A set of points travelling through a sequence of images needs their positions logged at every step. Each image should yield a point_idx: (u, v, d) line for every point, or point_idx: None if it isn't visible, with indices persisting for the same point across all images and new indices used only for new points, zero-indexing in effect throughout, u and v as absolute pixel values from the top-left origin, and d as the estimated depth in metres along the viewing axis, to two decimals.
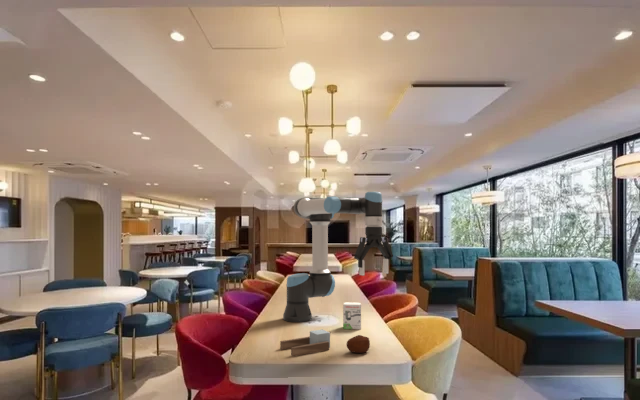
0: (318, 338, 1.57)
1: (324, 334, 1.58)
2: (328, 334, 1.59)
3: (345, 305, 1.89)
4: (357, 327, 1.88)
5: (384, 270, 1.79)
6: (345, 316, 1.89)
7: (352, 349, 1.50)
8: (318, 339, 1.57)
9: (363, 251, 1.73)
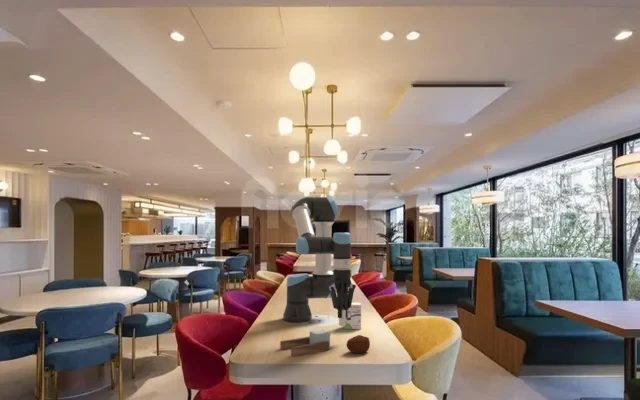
0: (318, 338, 1.57)
1: (324, 334, 1.58)
2: (328, 334, 1.59)
3: None
4: (357, 327, 1.88)
5: None
6: None
7: (352, 349, 1.50)
8: (318, 339, 1.57)
9: (338, 300, 1.66)
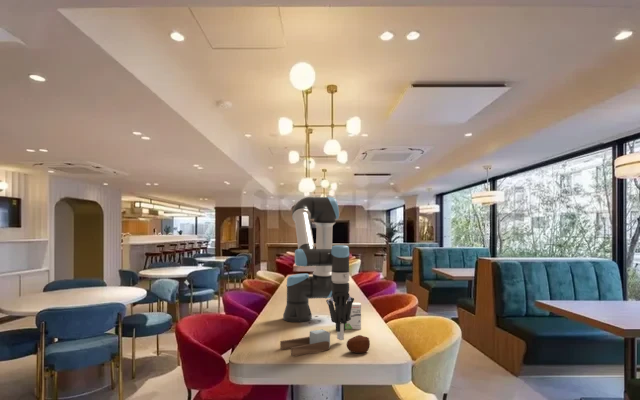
0: (318, 338, 1.57)
1: (324, 334, 1.58)
2: (328, 334, 1.59)
3: None
4: (357, 327, 1.88)
5: None
6: None
7: (352, 349, 1.50)
8: (318, 339, 1.57)
9: (336, 313, 1.65)
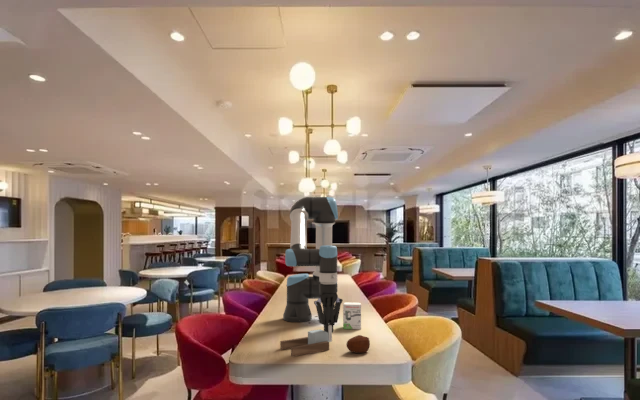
0: (317, 338, 1.56)
1: (322, 334, 1.58)
2: (326, 334, 1.59)
3: (345, 305, 1.89)
4: (357, 327, 1.88)
5: None
6: (345, 316, 1.89)
7: (352, 349, 1.50)
8: (316, 339, 1.56)
9: (324, 315, 1.62)
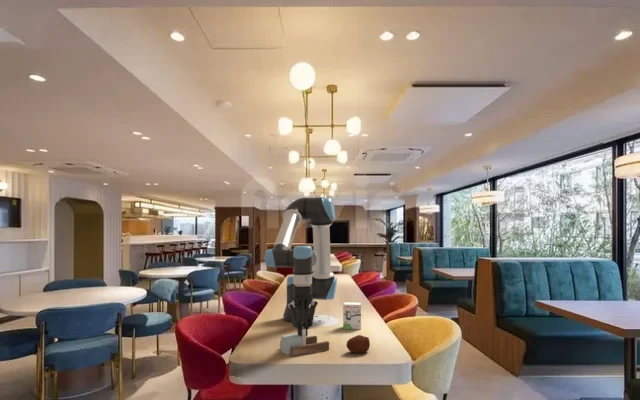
0: (289, 343, 1.50)
1: (296, 339, 1.51)
2: (300, 338, 1.52)
3: (345, 305, 1.89)
4: (357, 327, 1.88)
5: None
6: (345, 316, 1.89)
7: (352, 349, 1.50)
8: (289, 343, 1.50)
9: (298, 318, 1.56)
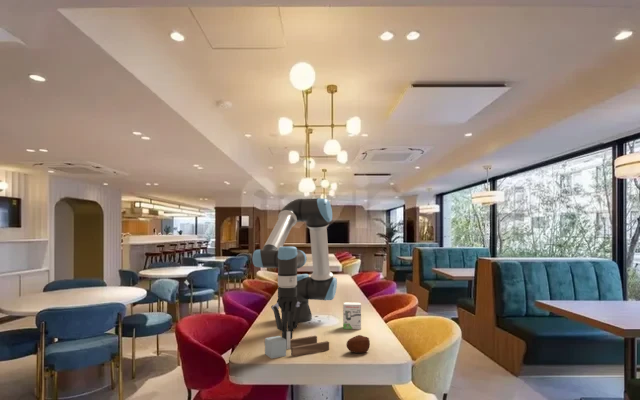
0: (273, 346, 1.46)
1: (279, 341, 1.48)
2: (284, 341, 1.49)
3: (345, 305, 1.89)
4: (357, 327, 1.88)
5: None
6: (345, 316, 1.89)
7: (352, 349, 1.50)
8: (272, 346, 1.46)
9: (283, 320, 1.52)
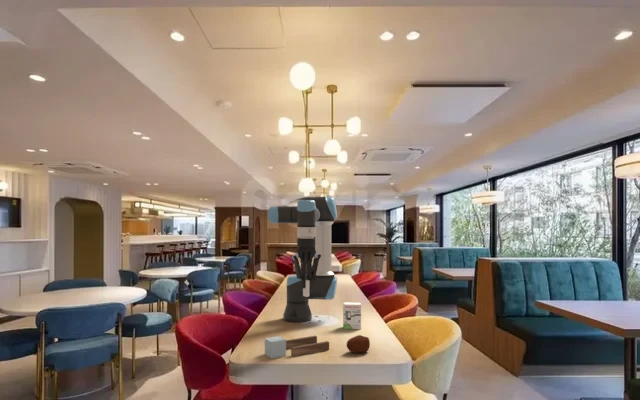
0: (273, 346, 1.46)
1: (279, 342, 1.48)
2: (284, 341, 1.49)
3: (345, 305, 1.89)
4: (357, 327, 1.88)
5: None
6: (345, 316, 1.89)
7: (352, 349, 1.50)
8: (272, 347, 1.46)
9: (302, 270, 1.60)
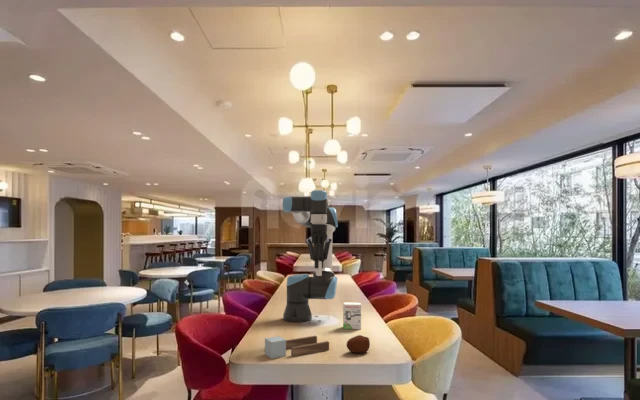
0: (273, 346, 1.46)
1: (279, 342, 1.48)
2: (284, 341, 1.49)
3: (345, 305, 1.89)
4: (357, 327, 1.88)
5: None
6: (345, 316, 1.89)
7: (352, 349, 1.50)
8: (272, 347, 1.46)
9: (315, 252, 1.80)
